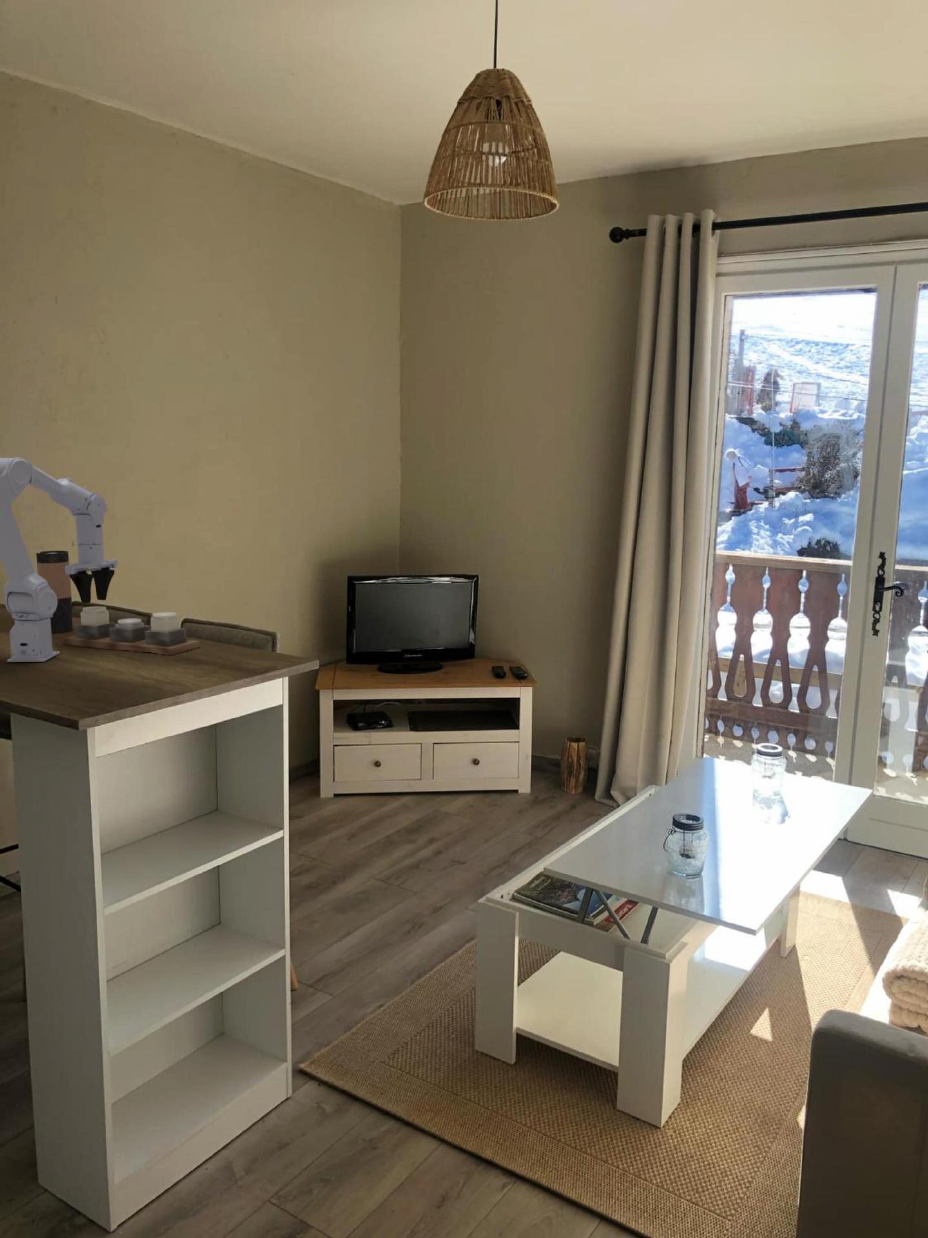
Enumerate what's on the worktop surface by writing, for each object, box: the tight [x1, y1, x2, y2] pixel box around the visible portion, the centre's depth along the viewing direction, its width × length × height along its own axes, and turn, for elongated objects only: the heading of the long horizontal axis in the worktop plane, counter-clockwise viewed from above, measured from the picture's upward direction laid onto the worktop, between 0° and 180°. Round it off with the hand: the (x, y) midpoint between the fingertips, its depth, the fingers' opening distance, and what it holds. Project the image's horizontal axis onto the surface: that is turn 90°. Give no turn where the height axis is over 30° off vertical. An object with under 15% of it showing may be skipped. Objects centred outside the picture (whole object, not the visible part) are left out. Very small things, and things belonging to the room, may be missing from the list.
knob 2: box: [116, 617, 145, 629], centre depth 236 cm, size 5×5×4 cm
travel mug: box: [35, 550, 73, 634], centre depth 256 cm, size 8×8×20 cm
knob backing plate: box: [62, 621, 201, 656], centre depth 236 cm, size 32×10×4 cm, turn 66°
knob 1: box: [80, 605, 110, 626], centre depth 240 cm, size 5×5×4 cm
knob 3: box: [150, 611, 181, 633], centre depth 232 cm, size 5×5×4 cm
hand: (93, 601), depth 239 cm, fingers open, 4 cm apart
